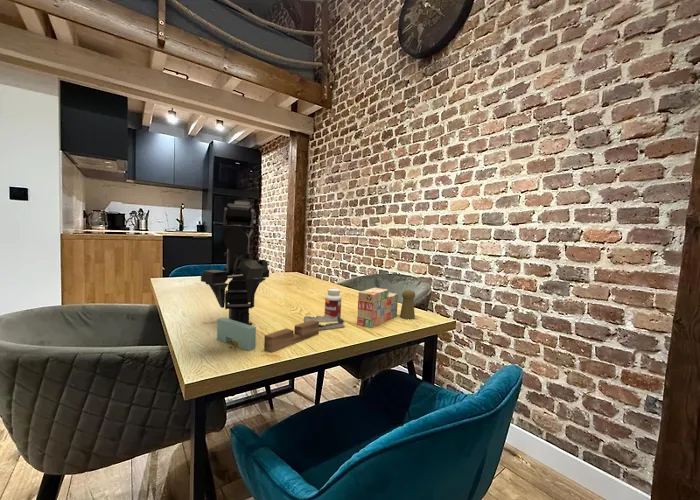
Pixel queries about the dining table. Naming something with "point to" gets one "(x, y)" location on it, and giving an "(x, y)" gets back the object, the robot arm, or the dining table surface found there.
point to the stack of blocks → (376, 307)
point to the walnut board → (290, 336)
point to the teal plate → (236, 333)
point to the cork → (408, 305)
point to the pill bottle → (333, 303)
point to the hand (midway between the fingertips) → (236, 304)
